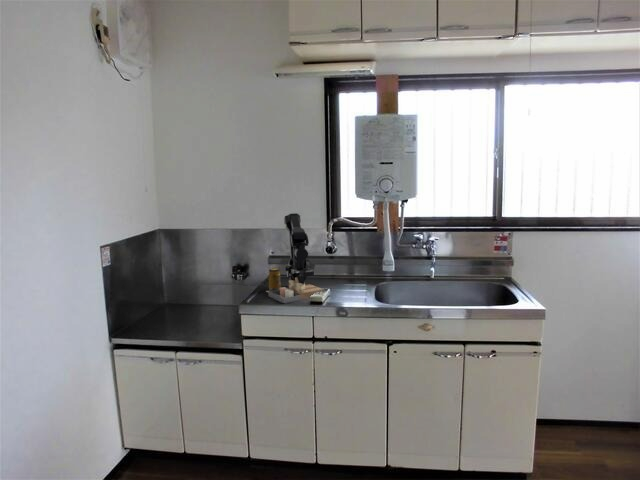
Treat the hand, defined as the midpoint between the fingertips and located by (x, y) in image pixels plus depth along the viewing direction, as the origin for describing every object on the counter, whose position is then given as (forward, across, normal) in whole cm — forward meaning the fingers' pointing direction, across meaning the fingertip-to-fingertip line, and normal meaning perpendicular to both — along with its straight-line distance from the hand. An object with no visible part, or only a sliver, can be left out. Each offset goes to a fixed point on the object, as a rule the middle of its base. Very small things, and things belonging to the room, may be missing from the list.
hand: (299, 287), depth 227 cm
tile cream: (+2, -3, +7) cm, 7 cm away
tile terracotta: (+2, +3, +6) cm, 7 cm away
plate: (+4, 0, -3) cm, 5 cm away
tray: (+4, 0, +9) cm, 10 cm away
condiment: (+4, +14, +6) cm, 16 cm away
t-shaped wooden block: (+1, 0, 0) cm, 1 cm away
